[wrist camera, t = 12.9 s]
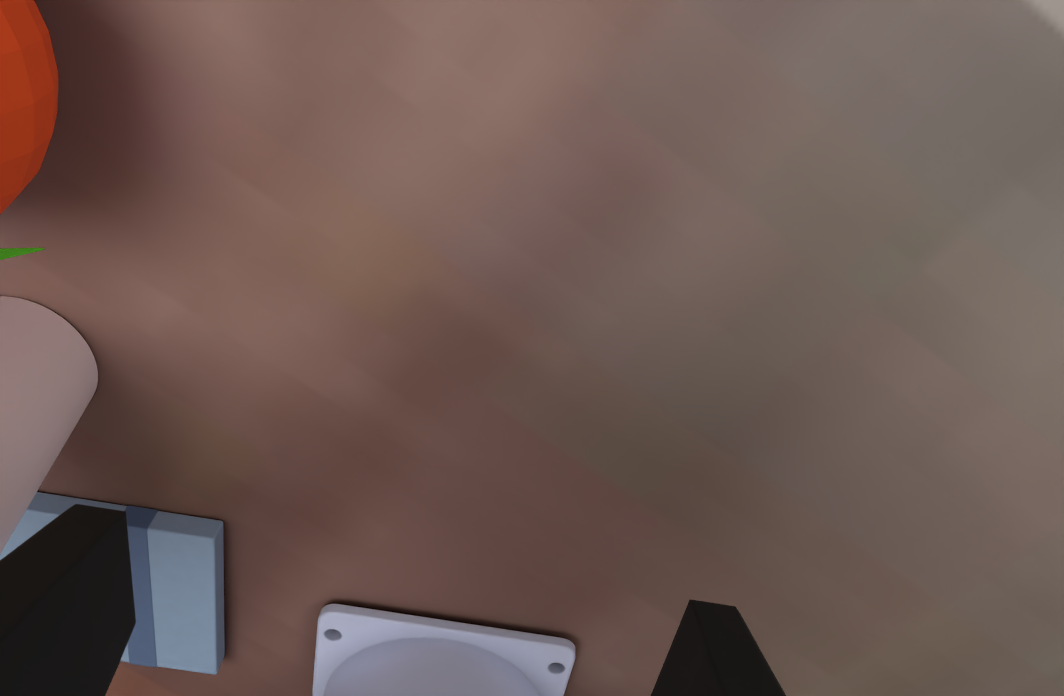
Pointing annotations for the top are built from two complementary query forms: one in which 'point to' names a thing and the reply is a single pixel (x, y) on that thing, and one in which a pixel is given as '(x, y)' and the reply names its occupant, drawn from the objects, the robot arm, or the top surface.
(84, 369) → the smoothie
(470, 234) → the top surface
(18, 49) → the clementine
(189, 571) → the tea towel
